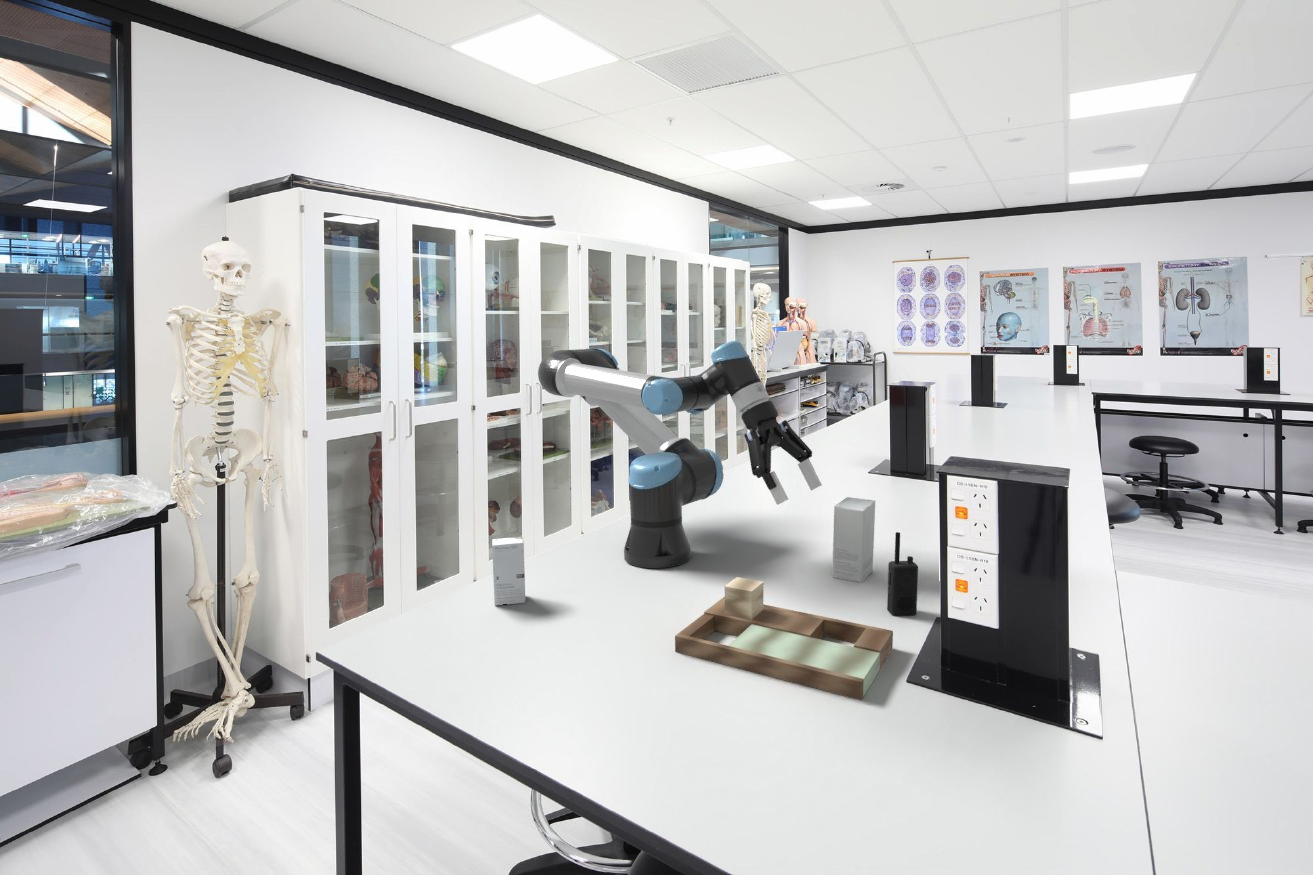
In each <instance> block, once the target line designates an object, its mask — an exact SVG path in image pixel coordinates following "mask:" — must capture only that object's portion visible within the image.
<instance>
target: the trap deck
mask: <svg viewBox="0 0 1313 875" xmlns="http://www.w3.org/2000/svg"><path fill="white" fill-rule="evenodd" d="M714 632H718V633H722V634H725V635H731V636H734V637H735V636H736V638H735V639H734V640H732V642H730V643H729V644H728V645H726V644H721V643H717V642H715V641H710V640H706V639H707V638H708V637H709V636H711V634H712V633H714ZM824 637H826V638H831V639H834V640H838V641H839V640H840V641H844V642H849V643H853V646H852V645H847V644H842V643H838V642H833V641H829V640H824V639H823V638H824ZM893 642H894V630H890V629H885V628H882V627H881V628H880V627H877V626H871V625H866V624H861V623H857V622H851V621H846V620H842V619H838V618H832V617H829V616H828V617H827V616H821V615H817V614H812V613H808V612H804V611H798V610H793V609H787V608H783V607H777V606H774V605H769V604H768V605H767V604H764V603H763V610H762V611H761V612H760V613H759V614H758V615H756V616H755V617H754V618H753V619H752V620H750V619H746V618H741V617H737V616H732V615H727V614H725V596H724V597H722V598H720V599H719V600H717V602H715V603H714V604H712V606H710V607H708V608H707V609H706V610H704V611H703V614H702V615H700V616H699V617H698V618H697V619H695V620H694V621H692V622H691V623H690V624H688V625H687V626H686V627H685V628H683V629H682V630H681V631H680V632H678V633H677V634H676V635H675V636H674V647H675V648H674V652H676V653H678V654H679V653H680V654H683V655H687V656H691V657H694V658H698V659H703V660H705V661H709V662H714V663H719V664H722V665H725V666H729V667H732V668H736V669H741V670H744V671H749V672H752V673H755V674H758V675H759V674H760V675H764V676H768V677H772V678H775V679H779V680H783V681H787V682H791V683H793V684H794V683H795V684H798V685H802V686H805V687H808V688H813V689H818V690H820V691H824V692H828V693H832V694H836V695H839V694H840V695H841V696H843V697H847V696H848V698H851V699H855V700H859V701H862V699H863V698H864V697H865V695H866V693H867V691H868V689H869V688H870V686H871V685H872V683H873V682H874V680H875V678H876V677H877V675H878V673H879V671H880V669H882V666H883V665H884V663H885V661H886V659H887V658H888V657H889V655H890V653H891V652H892V650H893Z"/></svg>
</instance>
